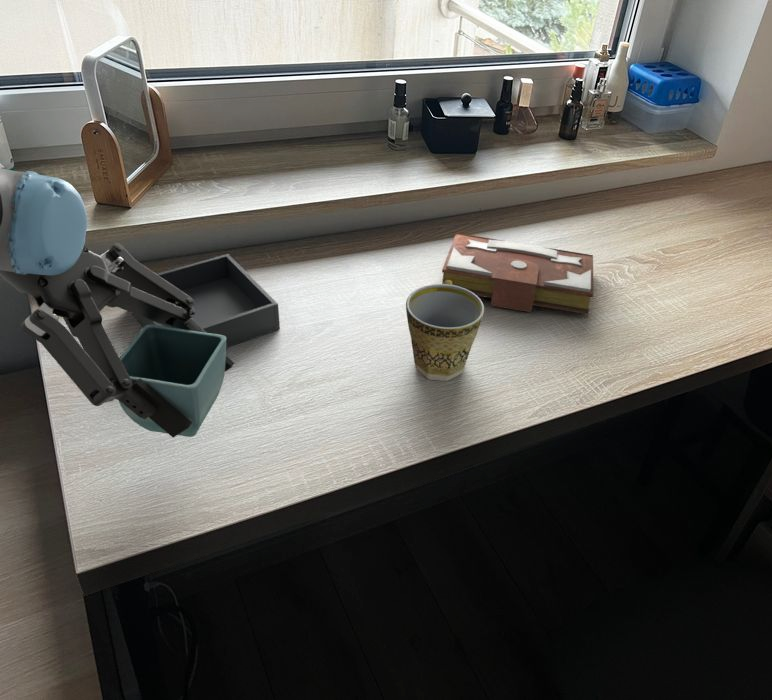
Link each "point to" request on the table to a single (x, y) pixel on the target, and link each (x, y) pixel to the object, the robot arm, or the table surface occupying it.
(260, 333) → the tote
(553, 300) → the book
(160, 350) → the flower pot
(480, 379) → the table surface
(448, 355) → the ceramic cup
